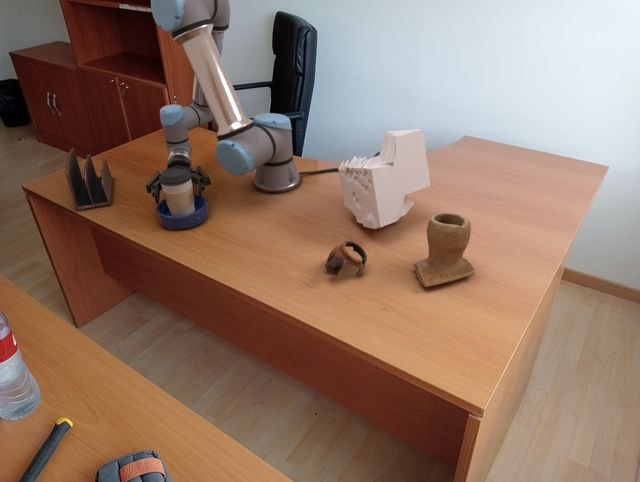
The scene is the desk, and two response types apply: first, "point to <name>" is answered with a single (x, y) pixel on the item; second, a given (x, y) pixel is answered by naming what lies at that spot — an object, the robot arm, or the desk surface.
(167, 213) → the bowl
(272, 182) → the robot arm
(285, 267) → the desk surface
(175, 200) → the coffee cup
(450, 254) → the stone cup
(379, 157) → the jagged white plaster chunk
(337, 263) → the brown curved piece
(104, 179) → the letter holder
